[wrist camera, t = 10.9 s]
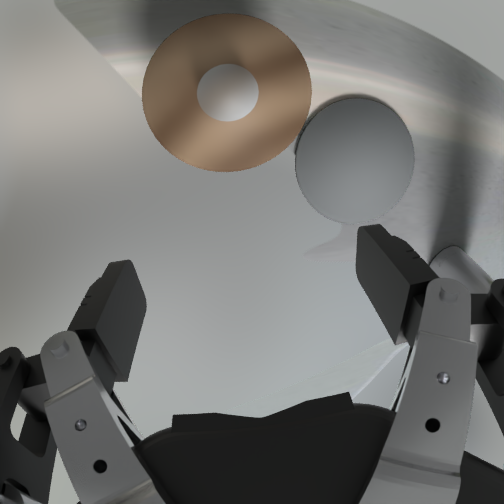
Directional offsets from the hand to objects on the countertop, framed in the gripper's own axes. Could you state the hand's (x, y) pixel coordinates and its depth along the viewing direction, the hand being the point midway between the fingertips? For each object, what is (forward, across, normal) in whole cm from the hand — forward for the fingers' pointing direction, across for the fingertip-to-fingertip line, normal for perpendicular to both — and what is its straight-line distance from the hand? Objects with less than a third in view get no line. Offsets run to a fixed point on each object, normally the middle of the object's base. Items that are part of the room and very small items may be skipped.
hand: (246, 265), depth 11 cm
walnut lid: (+18, 0, -6) cm, 19 cm away
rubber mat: (+27, -16, +5) cm, 32 cm away
